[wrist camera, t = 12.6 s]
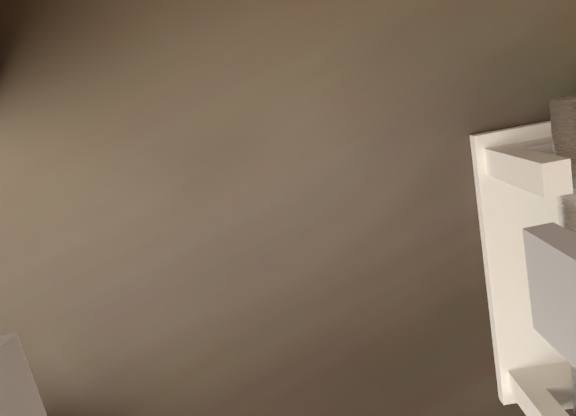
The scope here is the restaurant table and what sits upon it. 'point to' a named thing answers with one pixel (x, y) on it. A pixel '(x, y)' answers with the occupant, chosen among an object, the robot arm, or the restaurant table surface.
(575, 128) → the air tube
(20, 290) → the restaurant table surface
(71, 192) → the restaurant table surface
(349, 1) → the restaurant table surface
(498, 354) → the collar stand
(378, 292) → the restaurant table surface
